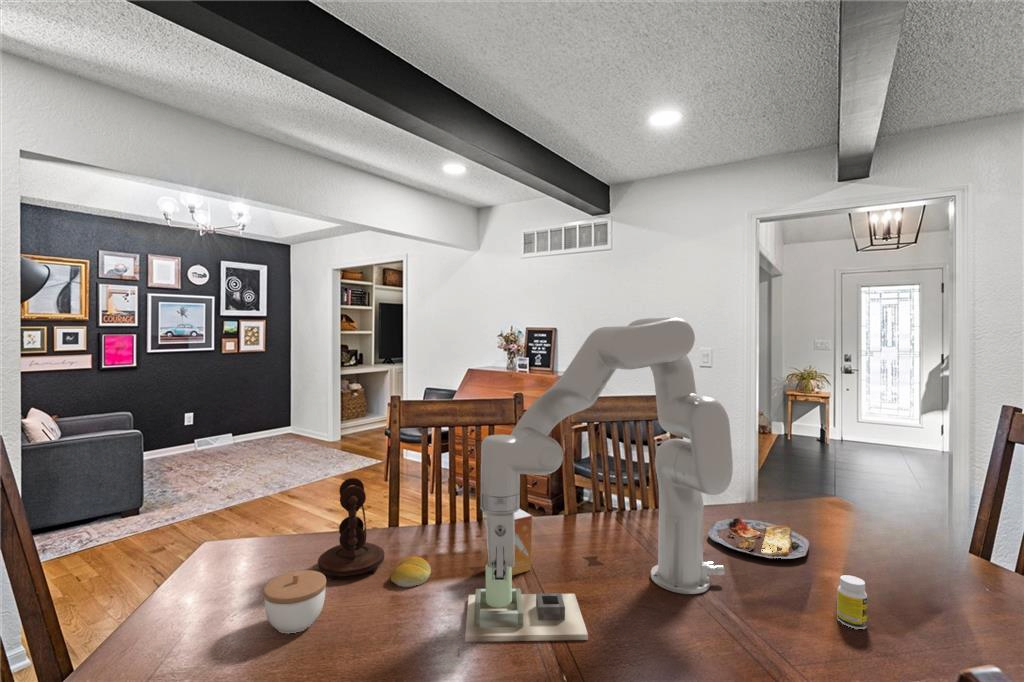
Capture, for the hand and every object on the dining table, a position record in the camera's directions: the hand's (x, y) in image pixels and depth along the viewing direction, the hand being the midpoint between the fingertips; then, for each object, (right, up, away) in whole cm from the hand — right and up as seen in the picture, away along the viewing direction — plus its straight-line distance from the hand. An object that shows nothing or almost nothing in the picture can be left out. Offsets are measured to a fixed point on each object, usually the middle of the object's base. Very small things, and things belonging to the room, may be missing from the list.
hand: (498, 595), depth 95 cm
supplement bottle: (+68, -6, 0) cm, 68 cm away
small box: (+2, -5, +20) cm, 21 cm away
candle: (0, -1, 0) cm, 1 cm away
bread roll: (-20, -5, +16) cm, 26 cm away
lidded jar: (-38, -4, -3) cm, 38 cm away
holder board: (+5, -5, 0) cm, 7 cm away
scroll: (-35, -4, +20) cm, 41 cm away
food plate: (+68, -6, +37) cm, 78 cm away
